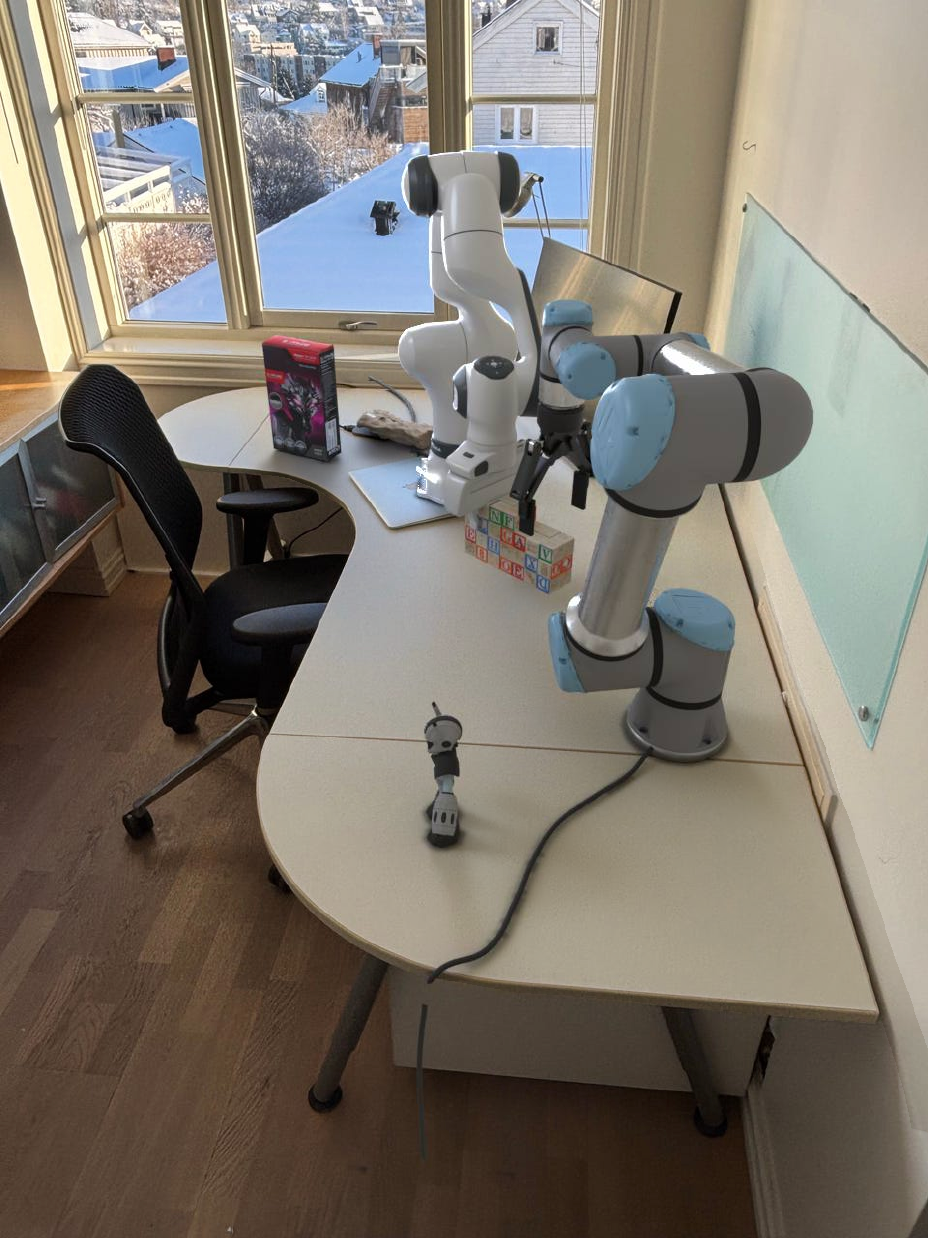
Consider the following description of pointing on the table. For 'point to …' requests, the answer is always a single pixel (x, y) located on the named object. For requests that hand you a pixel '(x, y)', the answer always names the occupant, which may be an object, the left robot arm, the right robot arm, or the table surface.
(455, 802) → the robot
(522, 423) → the table surface
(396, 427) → the stone
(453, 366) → the left robot arm
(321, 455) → the graphics card box
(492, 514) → the stack of blocks
